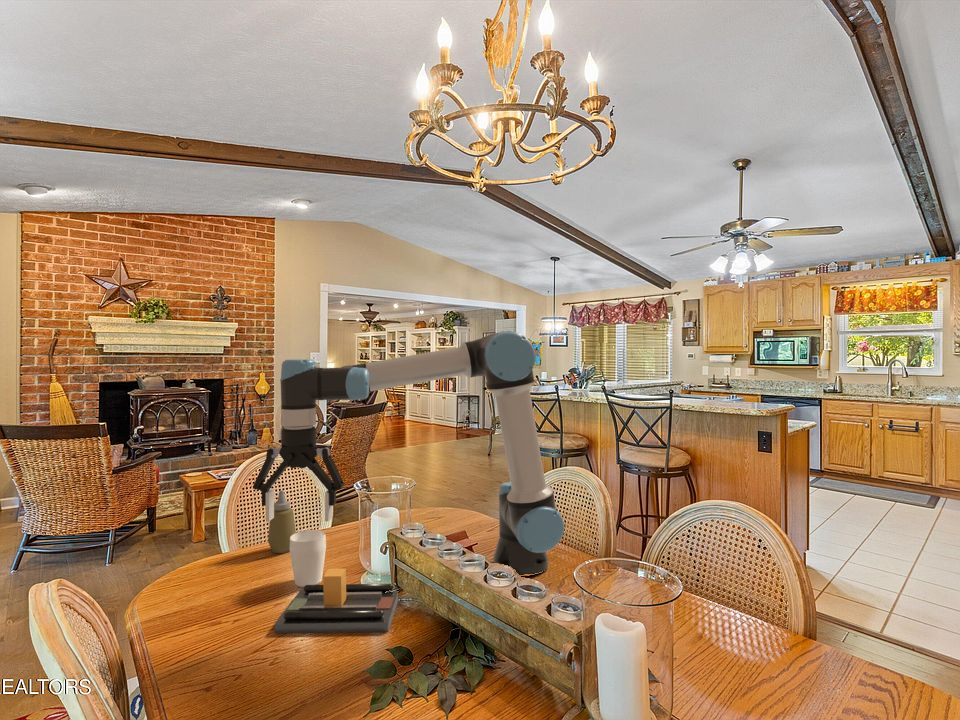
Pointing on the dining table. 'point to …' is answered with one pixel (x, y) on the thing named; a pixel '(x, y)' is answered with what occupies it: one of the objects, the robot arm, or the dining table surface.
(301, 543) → the cup
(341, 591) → the amber wood post
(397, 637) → the dining table surface
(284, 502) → the squeeze bottle
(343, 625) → the panel
